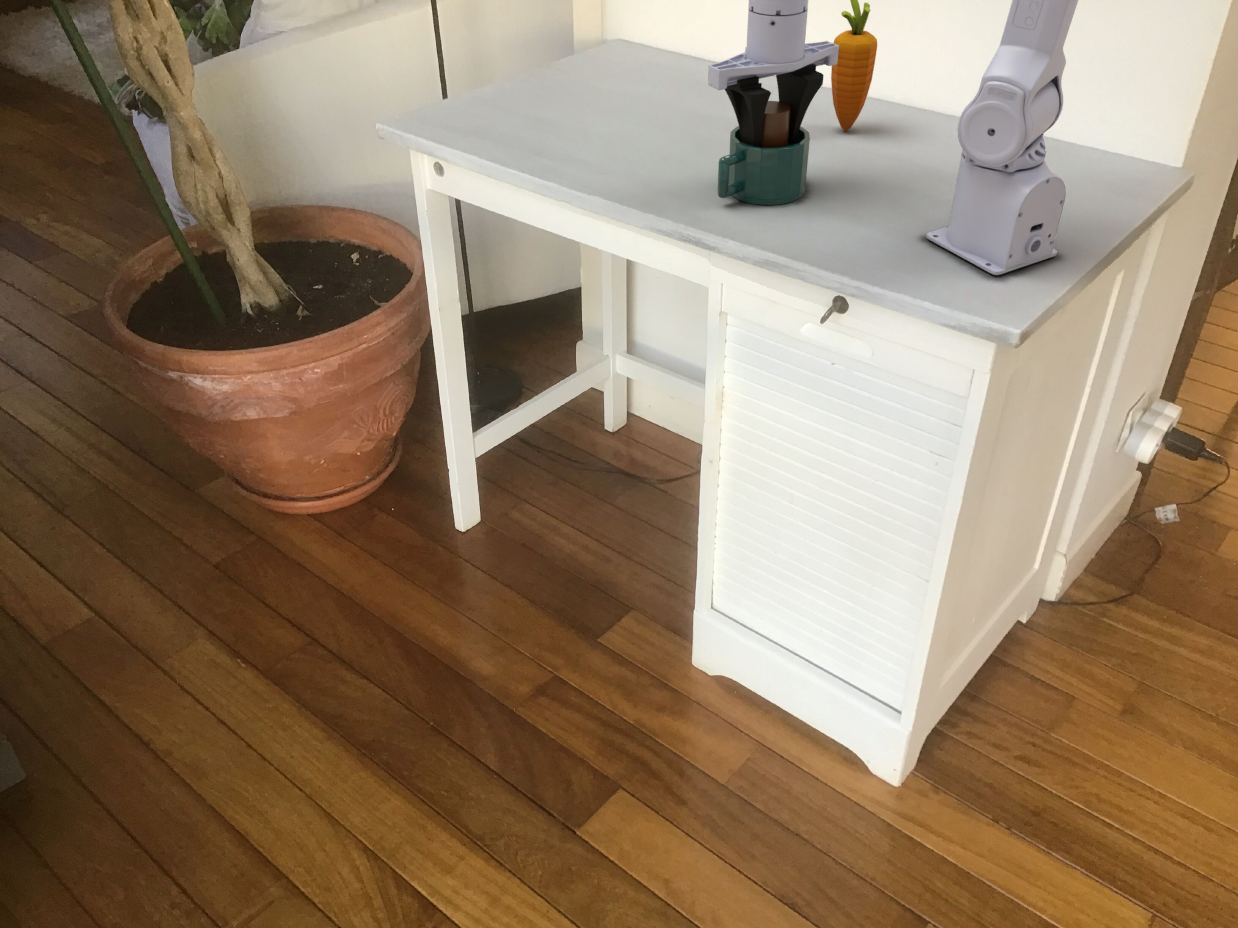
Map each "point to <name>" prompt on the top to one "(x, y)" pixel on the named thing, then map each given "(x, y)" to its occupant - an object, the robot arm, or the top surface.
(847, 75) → the carrot
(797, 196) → the mug
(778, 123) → the walnut peg
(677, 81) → the top surface
